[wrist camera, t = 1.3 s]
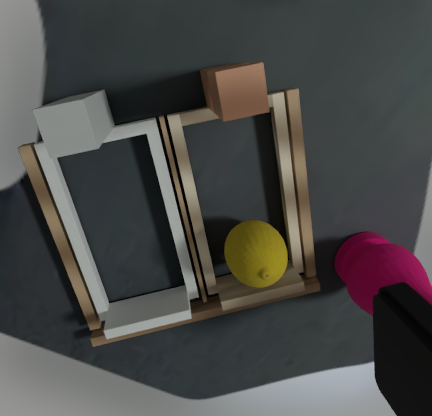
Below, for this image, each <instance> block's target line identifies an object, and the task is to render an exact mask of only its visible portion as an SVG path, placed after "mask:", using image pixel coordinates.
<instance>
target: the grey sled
mask: <svg viewBox="0 0 432 416" xmlns="http://www.w3.org/2000/svg"><path fill="white" fill-rule="evenodd" d="M32 111H33V114H34V117H35V119H36V122H37V125H38V128H39V130H40V133H41V136H42V138H43V141H40V142H37V143H36V144H34V147H35V150H36V152H37V155H38V158H39V160H40V163H41V165H42V168H43V171H44V173H45V176H46V179H47V181H48V184H49V186H50V189H51V192H52V194H53V197H54V200H55V202H56V205H57V208H58V210H59V213H60V215H61V218H62V221H63V223H64V226H65V229H66V231H67V234H68V236H69V239H70V242H71V244H72V247H73V250H74V252H75V255H76V258H77V260H78V263H79V265H80V268H81V271H82V273H83V276H84V279H85V281H86V284H87V286H88V289H89V292H90V294H91V297H92V300H93V302H94V305H95V308H96V310H97V313H98V315H99V318H100V321H103V320H106V321H105V326H104V334H105V336H106V339H110V338H114V337H118V336H123V335H127V334H131V333H135V332H139V331H143V330H147V329H151V328H155V327H159V326H163V325H167V324H171V323H175V322H179V321H184V320H188V319H192V317H191V309H190V301H189V300H190V299H194V298H198V297H199V294H198V289H197V285H196V281H195V277H194V272H193V268H192V264H191V260H190V256H189V252H188V248H187V244H186V240H185V236H184V232H183V228H182V223H181V219H180V215H179V211H178V207H177V203H176V199H175V195H174V191H173V187H172V183H171V178H170V174H169V170H168V166H167V162H166V158H165V154H164V150H163V146H162V142H161V138H160V134H159V129H158V125H157V121H156V117H154V118H150V119H145V120H140V121H135V122H131V123H126V124H121V125H116V126H115V124H114V121H113V117H112V114H111V110H110V107H109V103H108V100H107V96H106V93H105V90H99V91H94V92H89V93H85V94H80V95H75V96H70V97H66V98H63V99H61V100H58V101H55V102H52V103H49V104H47V105H44V106H41V107H38V108H36V109H33V110H32ZM142 134H147V138H148V141H149V145H150V149H151V153H152V157H153V161H154V165H155V168H156V172H157V176H158V180H159V184H160V188H161V192H162V196H163V199H164V203H165V207H166V211H167V215H168V219H169V223H170V227H171V230H172V234H173V238H174V242H175V246H176V250H177V254H178V258H179V261H180V265H181V269H182V273H183V277H184V281H185V285H184V286H180V287H175V288H171V289H167V290H163V291H159V292H155V293H150V294H146V295H142V296H138V297H134V298H130V299H125V300H121V301H117V302H113V303H109V301H108V299H107V296H106V293H105V290H104V287H103V285H102V282H101V279H100V276H99V274H98V271H97V268H96V265H95V263H94V260H93V257H92V254H91V251H90V249H89V246H88V243H87V240H86V238H85V235H84V232H83V229H82V226H81V224H80V221H79V218H78V215H77V213H76V210H75V207H74V204H73V202H72V199H71V196H70V193H69V190H68V188H67V185H66V182H65V179H64V177H63V174H62V171H61V168H60V165H59V163H58V160H57V157H61V156H66V155H71V154H75V153H80V152H85V151H89V150H94V149H99V147H100V146H101V144H102V143H105V142H110V141H114V140H119V139H124V138H128V137H133V136H138V135H142Z"/></svg>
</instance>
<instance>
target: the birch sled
mask: <svg viewBox="0 0 432 416" xmlns="http://www.w3.org/2000/svg"><path fill="white" fill-rule="evenodd" d="M200 73H201V78H202V84H203V89H204V94H205V99H206V105H207V107H202V108H197V109H192V110H188V111H183V112H178V113H173V114H169V115H167V118H168V122H169V126H170V131H171V135H172V139H173V143H174V148H175V152H176V156H177V161H178V165H179V169H180V174H181V178H182V182H183V186H184V191H185V195H186V199H187V204H188V208H189V212H190V217H191V221H192V225H193V229H194V234H195V238H196V242H197V247H198V251H199V255H200V260H201V264H202V268H203V272H204V277H205V281H206V285H207V290H208V294H209V295H211V294H215V293H219V297H220V301H221V305H222V309H223V311H224V310H228V309H232V308H236V307H240V306H245V305H249V304H253V303H257V302H261V301H265V300H269V299H273V298H277V297H281V296H285V295H289V294H293V293H297V292H301V291H305V288H304V281H303V280H302V278H301V277H300V275H299V274H298V273H301V272H304V271H303V262H302V253H301V244H300V235H299V226H298V217H297V208H296V199H295V190H294V181H293V172H292V163H291V154H290V145H289V136H288V126H287V117H286V108H285V99H284V92H281V91H278V92H273V93H268V94H267V88H266V80H265V72H264V64H263V62H255V63H232V64H227V65H222V66H217V67H212V68H207V69H202V70H200ZM269 107H270V110H271V118H272V126H273V134H274V142H275V150H276V158H277V166H278V173H279V181H280V189H281V197H282V205H283V213H284V221H285V229H286V237H287V245H288V253H289V260H288V262H287V267H286V270H285V272H284V274H283V275H282V277H281V278H280V279H279V280H278V281H277V282H275V283H274V284H272V285H270V286H267V287H263V288H255V287H251V286H248V285H246V284H244V283H242V282H240V281H239V280H238V279H237V278H236V277H235V276H234V275H233V274H230V275H225V276H221V277H217V278H215V275H214V271H213V266H212V261H211V257H210V252H209V248H208V243H207V239H206V234H205V230H204V225H203V221H202V216H201V211H200V207H199V202H198V198H197V193H196V189H195V184H194V180H193V175H192V170H191V166H190V161H189V157H188V152H187V148H186V143H185V139H184V134H183V130H182V126H185V125H189V124H194V123H199V122H204V121H208V120H213V119H218V118H220V119H221V120H222V121H224V122H225V121H230V120H235V119H239V118H244V117H249V116H253V115H258V114H263V113H267V112H270V111H269Z"/></svg>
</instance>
